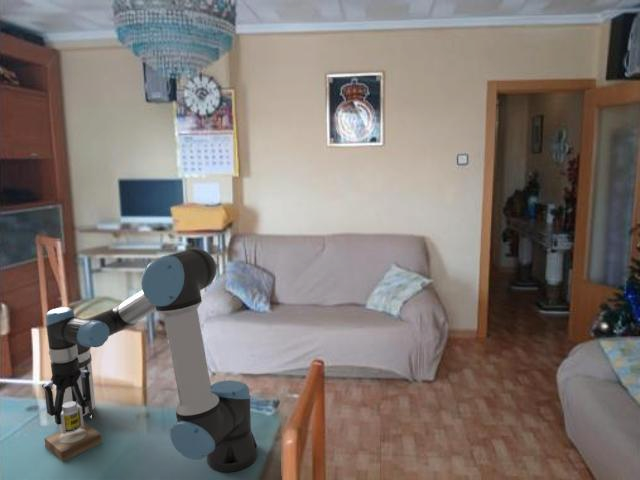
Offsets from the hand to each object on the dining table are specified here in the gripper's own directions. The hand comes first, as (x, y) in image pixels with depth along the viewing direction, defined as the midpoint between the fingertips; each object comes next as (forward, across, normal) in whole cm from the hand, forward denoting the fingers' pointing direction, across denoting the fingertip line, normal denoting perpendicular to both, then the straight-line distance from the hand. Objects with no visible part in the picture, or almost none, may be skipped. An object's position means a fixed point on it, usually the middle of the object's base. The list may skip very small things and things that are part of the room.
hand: (71, 428), depth 153 cm
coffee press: (+6, -9, -16) cm, 19 cm away
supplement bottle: (+1, 0, 0) cm, 1 cm away
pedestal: (+6, 0, 0) cm, 6 cm away
